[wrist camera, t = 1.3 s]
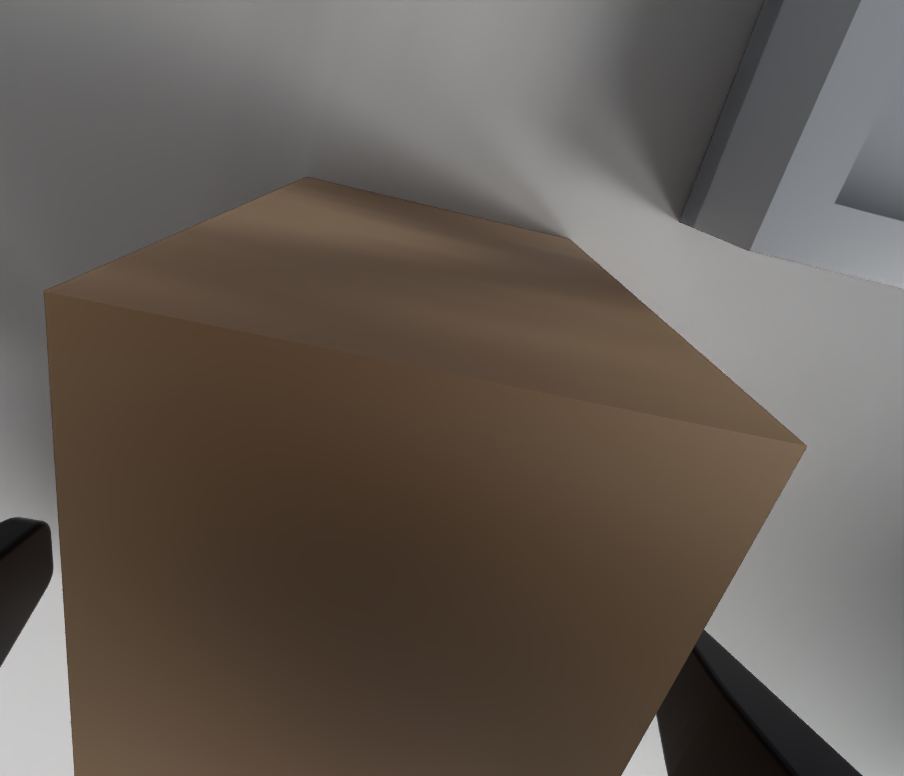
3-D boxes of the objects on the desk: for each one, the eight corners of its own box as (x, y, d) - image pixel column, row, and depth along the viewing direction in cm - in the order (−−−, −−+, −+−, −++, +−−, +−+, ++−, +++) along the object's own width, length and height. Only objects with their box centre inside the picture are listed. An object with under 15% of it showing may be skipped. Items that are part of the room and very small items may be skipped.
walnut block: (568, 238, 10) (806, 447, 4) (441, 646, 14) (447, 1082, 8) (308, 176, 9) (44, 291, 3) (254, 618, 13) (93, 1064, 7)
